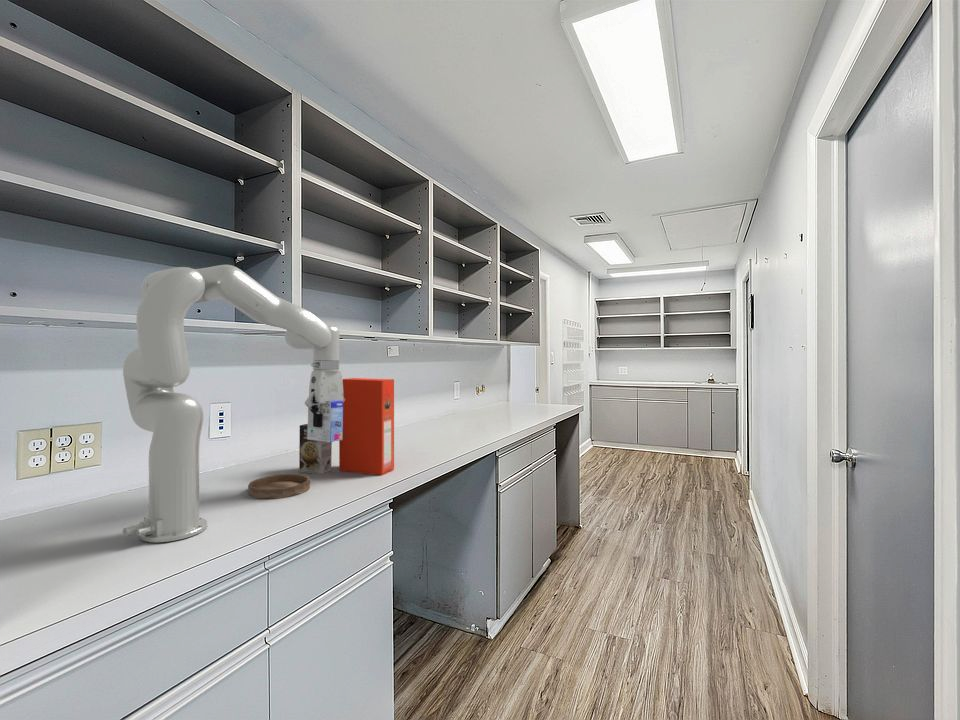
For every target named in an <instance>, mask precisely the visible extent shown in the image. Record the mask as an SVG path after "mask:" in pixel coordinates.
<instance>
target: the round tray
mask: <svg viewBox="0 0 960 720" xmlns="http://www.w3.org/2000/svg"><path fill="white" fill-rule="evenodd" d="M310 486H311V477H310V476H308V475H305V474H300V473H285V474H284V473H283V474H273V475H267V476H264V477H262V476H261V477H259V478H256V479H253V480H252V481H250V482H249V483H248V486H247V488H248V490H247V491H248V495H249V496H250V497H251V498H255V499H260V500H262V499H263V500H274V499H275V500H276V499H284V498H290V497H294V496H298V495H302V494H304V493H306V492H307V491H309V490H310V489H311V487H310Z"/></svg>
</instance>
